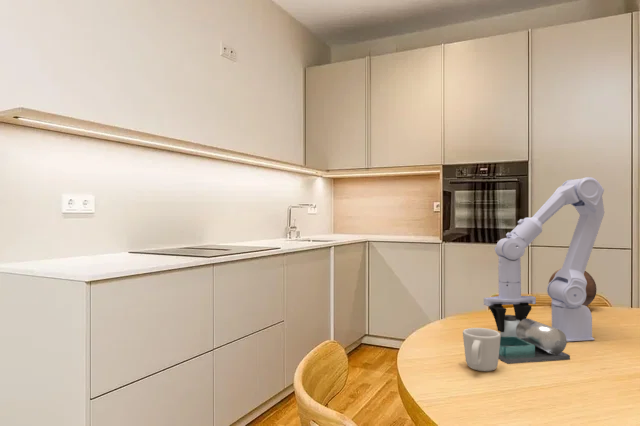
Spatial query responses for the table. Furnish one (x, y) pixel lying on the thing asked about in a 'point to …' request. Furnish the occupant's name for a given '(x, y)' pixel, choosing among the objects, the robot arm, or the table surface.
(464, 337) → the cup
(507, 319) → the grey capped cylinder
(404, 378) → the table surface
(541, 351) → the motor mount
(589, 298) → the wooden sphere
